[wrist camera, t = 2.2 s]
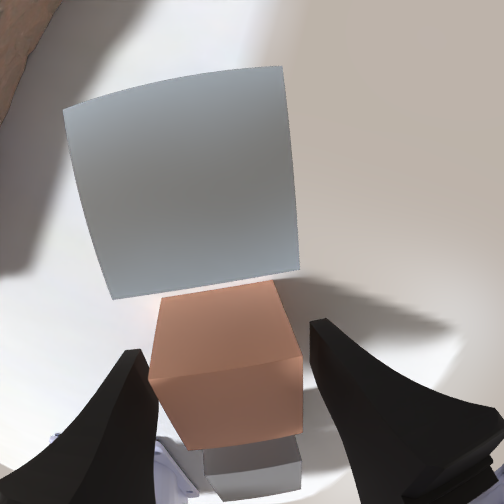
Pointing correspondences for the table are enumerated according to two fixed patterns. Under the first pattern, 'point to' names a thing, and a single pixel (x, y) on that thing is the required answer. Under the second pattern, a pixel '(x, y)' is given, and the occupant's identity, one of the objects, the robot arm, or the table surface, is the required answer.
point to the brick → (19, 41)
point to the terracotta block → (228, 367)
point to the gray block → (254, 469)
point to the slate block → (187, 180)
